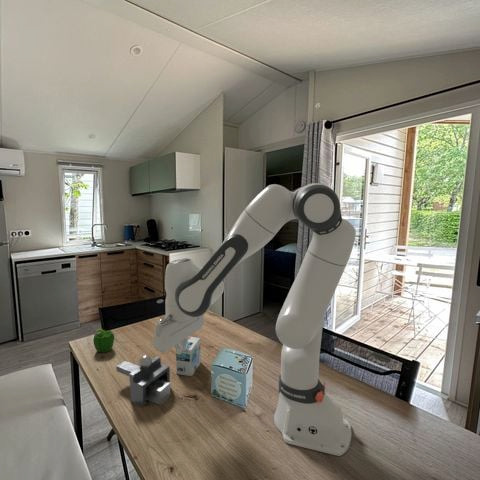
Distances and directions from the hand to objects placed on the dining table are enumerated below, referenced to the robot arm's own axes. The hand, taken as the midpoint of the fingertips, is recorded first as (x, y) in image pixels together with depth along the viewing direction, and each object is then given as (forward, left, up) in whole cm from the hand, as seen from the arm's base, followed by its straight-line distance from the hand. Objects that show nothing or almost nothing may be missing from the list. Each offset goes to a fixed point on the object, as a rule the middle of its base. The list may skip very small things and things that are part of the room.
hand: (181, 351), depth 92 cm
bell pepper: (+54, -12, -19) cm, 59 cm away
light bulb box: (+12, -19, -19) cm, 30 cm away
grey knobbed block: (+11, 0, -19) cm, 22 cm away
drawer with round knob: (+20, 0, -19) cm, 27 cm away
